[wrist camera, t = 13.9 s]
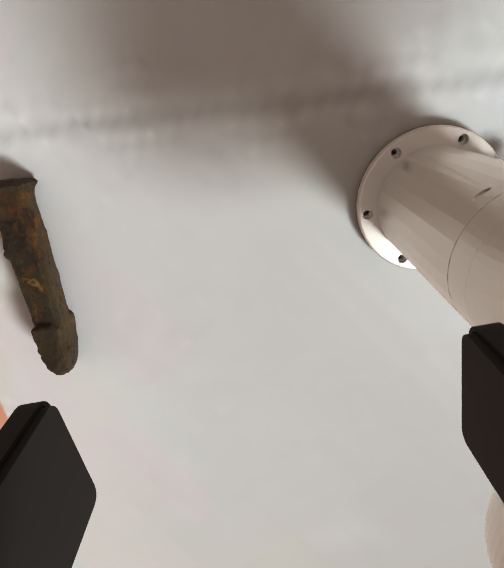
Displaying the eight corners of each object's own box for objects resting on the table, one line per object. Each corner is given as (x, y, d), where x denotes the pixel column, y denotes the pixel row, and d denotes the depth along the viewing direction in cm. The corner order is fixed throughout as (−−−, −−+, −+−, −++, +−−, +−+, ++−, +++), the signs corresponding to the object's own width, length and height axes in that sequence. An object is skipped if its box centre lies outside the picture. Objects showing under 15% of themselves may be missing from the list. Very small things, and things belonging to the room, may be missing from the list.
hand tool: (-5, 176, 38) (-37, 188, 33) (41, 173, 38) (14, 184, 33) (51, 359, 45) (31, 387, 41) (89, 357, 45) (72, 385, 41)
